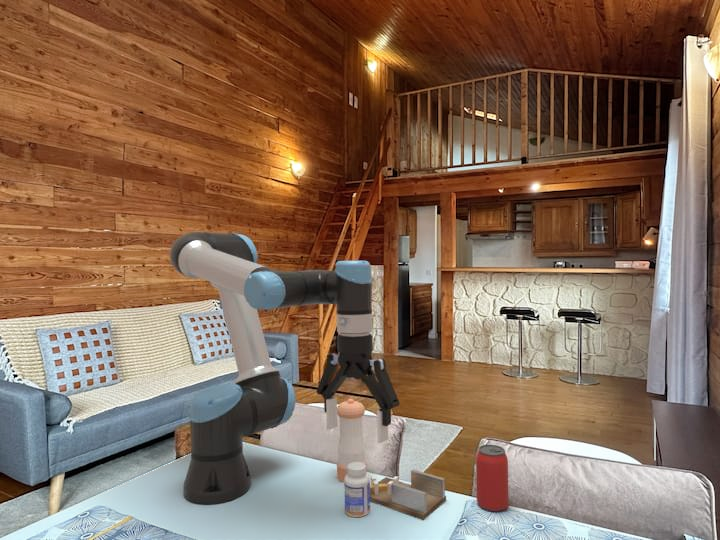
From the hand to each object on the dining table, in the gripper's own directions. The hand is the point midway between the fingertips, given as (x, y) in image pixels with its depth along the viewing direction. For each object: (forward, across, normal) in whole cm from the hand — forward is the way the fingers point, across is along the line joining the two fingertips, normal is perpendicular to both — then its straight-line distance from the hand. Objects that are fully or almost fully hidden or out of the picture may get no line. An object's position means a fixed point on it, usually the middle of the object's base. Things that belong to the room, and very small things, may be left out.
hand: (356, 434), depth 101 cm
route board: (+16, +5, +10) cm, 20 cm away
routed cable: (+15, 0, +9) cm, 18 cm away
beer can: (+16, +22, +19) cm, 33 cm away
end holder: (+16, +9, +10) cm, 21 cm away
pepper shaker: (+16, -11, +12) cm, 23 cm away
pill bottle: (+16, 0, 0) cm, 17 cm away
